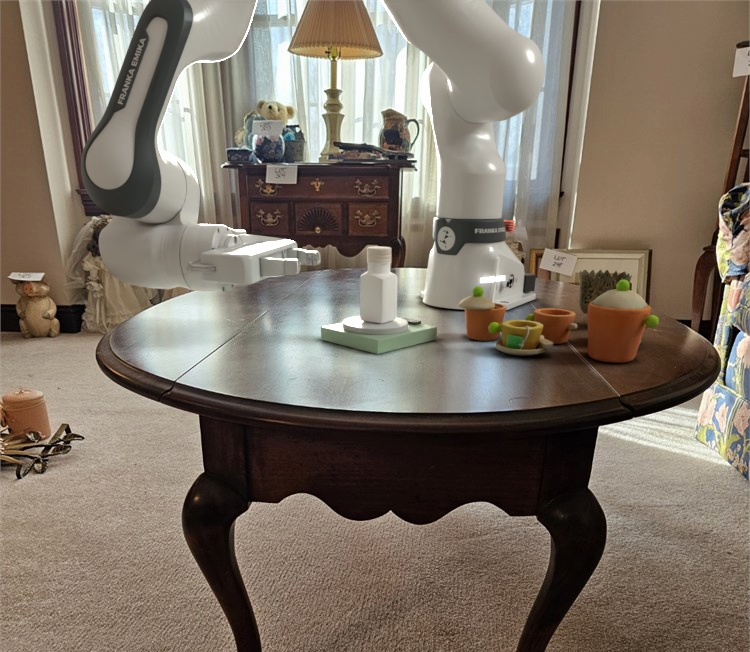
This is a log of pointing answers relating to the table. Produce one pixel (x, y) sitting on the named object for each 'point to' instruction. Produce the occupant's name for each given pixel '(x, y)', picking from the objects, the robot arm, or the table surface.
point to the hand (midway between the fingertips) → (309, 262)
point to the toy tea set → (565, 325)
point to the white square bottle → (378, 287)
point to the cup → (597, 285)
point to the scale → (378, 334)
